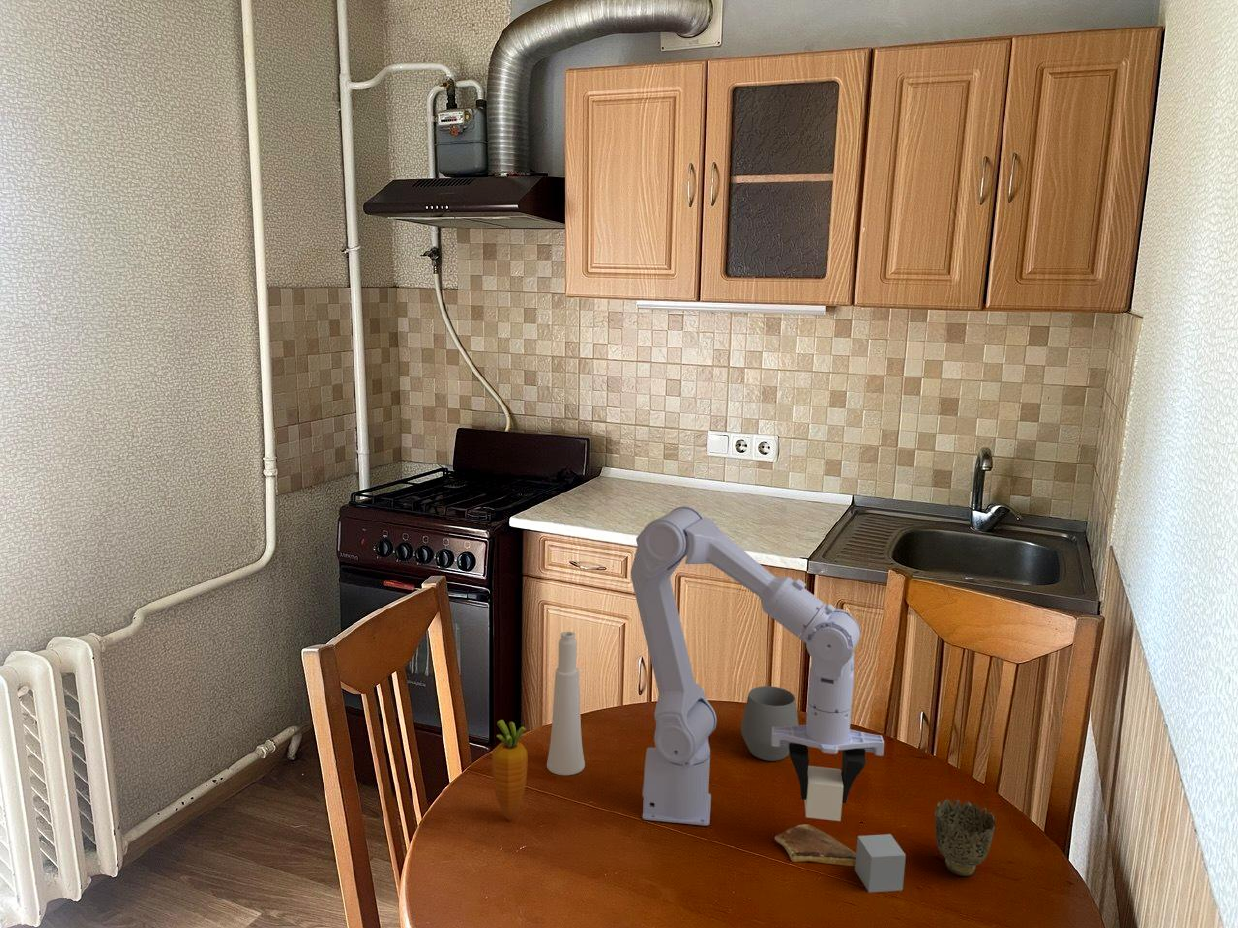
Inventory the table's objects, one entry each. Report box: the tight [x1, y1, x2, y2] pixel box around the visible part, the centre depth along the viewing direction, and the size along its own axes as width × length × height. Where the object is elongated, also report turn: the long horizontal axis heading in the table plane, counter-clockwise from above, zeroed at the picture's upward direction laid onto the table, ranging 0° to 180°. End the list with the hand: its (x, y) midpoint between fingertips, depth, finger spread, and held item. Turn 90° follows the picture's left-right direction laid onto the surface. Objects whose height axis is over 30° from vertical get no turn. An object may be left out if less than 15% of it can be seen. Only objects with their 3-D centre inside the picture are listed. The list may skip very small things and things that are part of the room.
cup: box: [740, 685, 799, 762], centre depth 146 cm, size 10×9×10 cm
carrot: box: [491, 719, 529, 822], centre depth 125 cm, size 5×5×15 cm
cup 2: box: [934, 798, 996, 877], centre depth 117 cm, size 8×7×8 cm
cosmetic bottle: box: [546, 631, 586, 776], centre depth 140 cm, size 6×6×22 cm
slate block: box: [854, 833, 907, 893], centre depth 115 cm, size 4×4×5 cm
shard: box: [774, 823, 856, 867], centre depth 120 cm, size 11×8×2 cm
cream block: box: [803, 765, 843, 822], centre depth 121 cm, size 4×4×5 cm
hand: (822, 797), depth 121 cm, fingers closed on cream block, 4 cm apart
